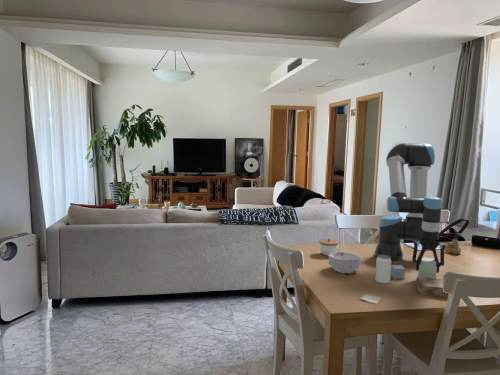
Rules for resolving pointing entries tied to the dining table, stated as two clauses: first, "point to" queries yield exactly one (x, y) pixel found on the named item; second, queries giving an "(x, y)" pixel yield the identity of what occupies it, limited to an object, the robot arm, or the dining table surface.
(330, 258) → the paper bowls
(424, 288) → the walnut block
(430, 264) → the sage block
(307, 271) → the dining table surface
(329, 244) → the lidded jar
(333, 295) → the dining table surface
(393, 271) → the slate block
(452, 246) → the ornament
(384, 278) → the can
